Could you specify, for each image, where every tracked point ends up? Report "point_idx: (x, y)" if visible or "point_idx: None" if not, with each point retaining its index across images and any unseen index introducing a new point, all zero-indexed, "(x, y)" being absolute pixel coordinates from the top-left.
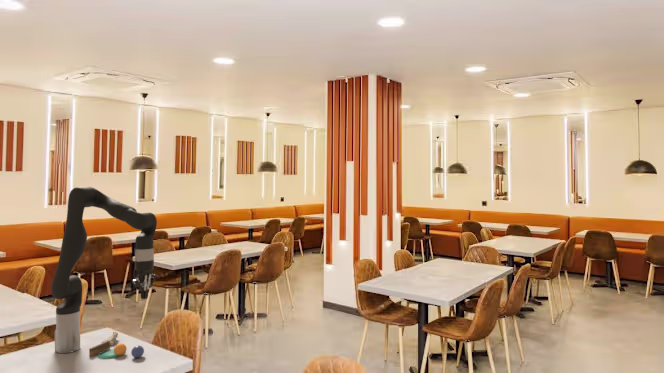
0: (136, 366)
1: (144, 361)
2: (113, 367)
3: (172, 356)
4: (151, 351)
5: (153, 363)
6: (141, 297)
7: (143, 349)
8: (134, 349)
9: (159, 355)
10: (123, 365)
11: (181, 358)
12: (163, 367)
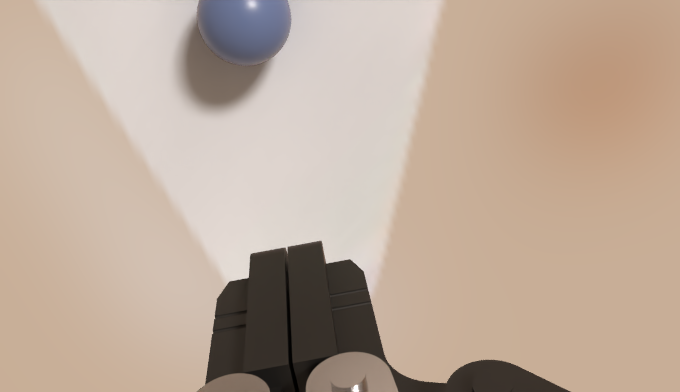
0: (146, 135)
1: (225, 114)
2: (41, 5)
3: (366, 205)
4: (373, 6)
5: (234, 190)
6: (225, 306)
7: (271, 56)
8: (206, 30)
9: (343, 120)
10: (104, 41)
11: (365, 270)
12: (225, 280)
